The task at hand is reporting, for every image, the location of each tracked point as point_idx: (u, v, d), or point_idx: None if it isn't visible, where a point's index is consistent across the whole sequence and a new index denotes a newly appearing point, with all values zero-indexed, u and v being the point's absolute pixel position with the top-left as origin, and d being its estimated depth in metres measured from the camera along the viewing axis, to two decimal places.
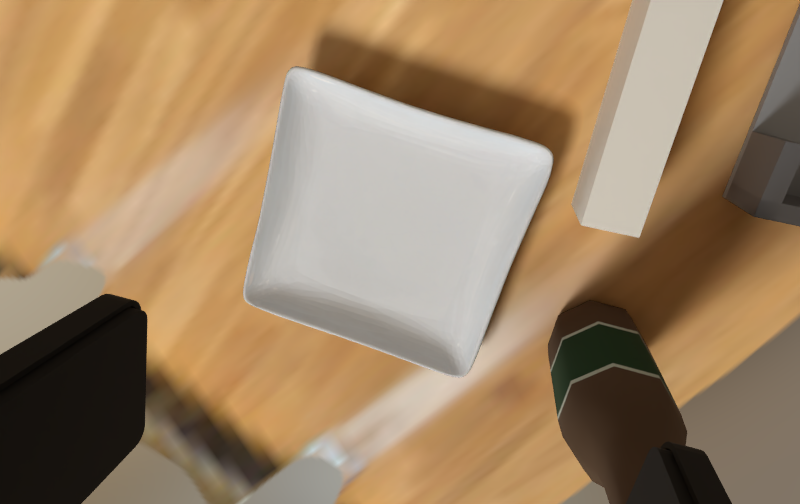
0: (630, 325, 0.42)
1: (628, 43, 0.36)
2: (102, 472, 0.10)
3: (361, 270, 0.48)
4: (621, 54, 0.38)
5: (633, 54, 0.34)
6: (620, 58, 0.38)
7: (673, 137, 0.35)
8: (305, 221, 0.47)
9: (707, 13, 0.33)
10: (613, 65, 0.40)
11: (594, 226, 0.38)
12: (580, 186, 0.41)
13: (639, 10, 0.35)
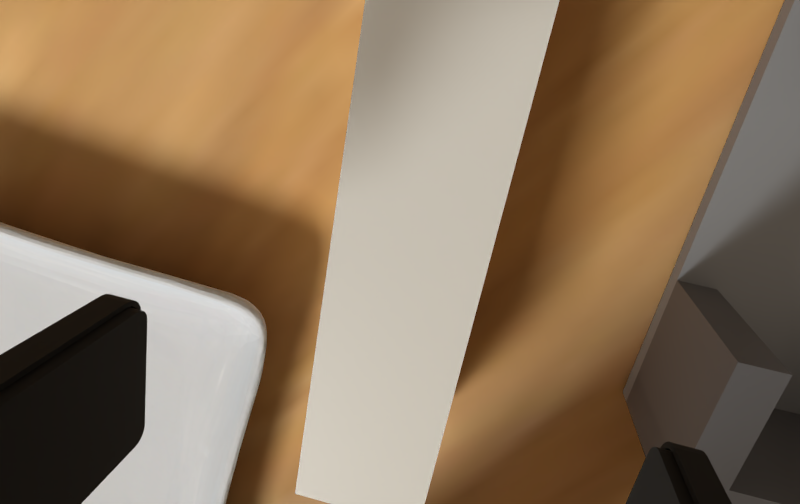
0: None
1: None
2: (102, 472, 0.10)
3: None
4: None
5: None
6: None
7: (466, 337, 0.14)
8: None
9: (519, 37, 0.12)
10: None
11: (322, 498, 0.17)
12: None
13: None
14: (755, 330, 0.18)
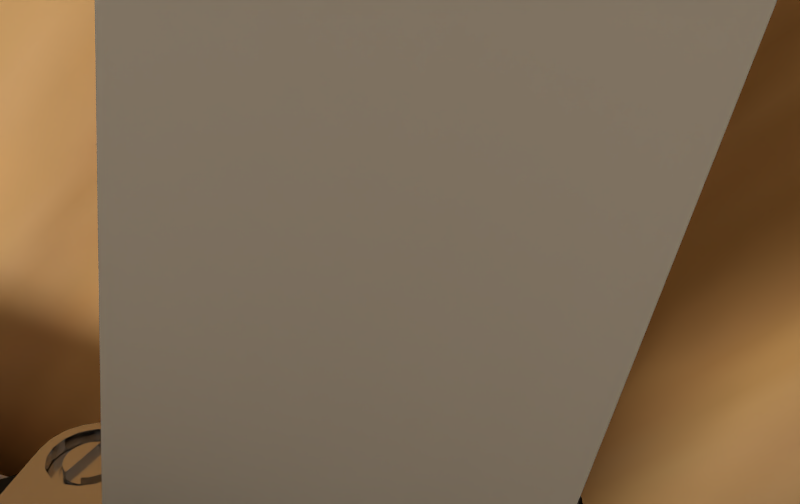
0: None
1: None
2: None
3: None
4: None
5: None
6: None
7: None
8: None
9: (607, 143, 0.03)
10: None
11: None
12: None
13: None
14: None
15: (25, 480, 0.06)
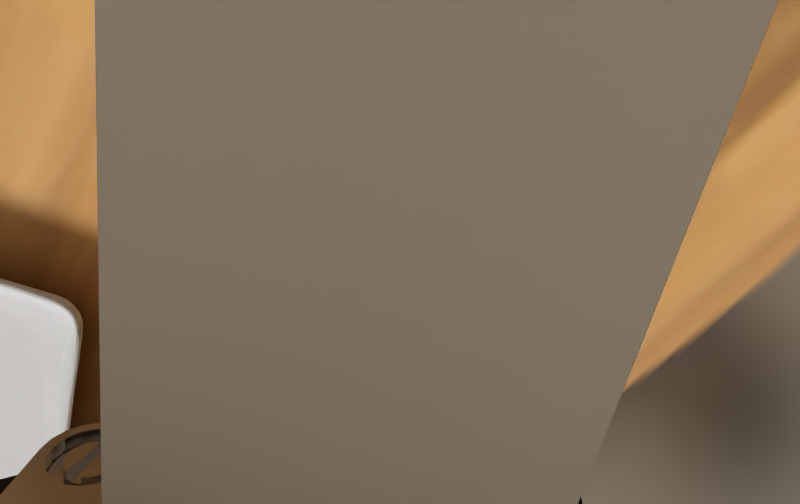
0: None
1: None
2: None
3: None
4: None
5: None
6: None
7: None
8: None
9: (602, 159, 0.03)
10: None
11: None
12: None
13: None
14: None
15: (25, 480, 0.06)
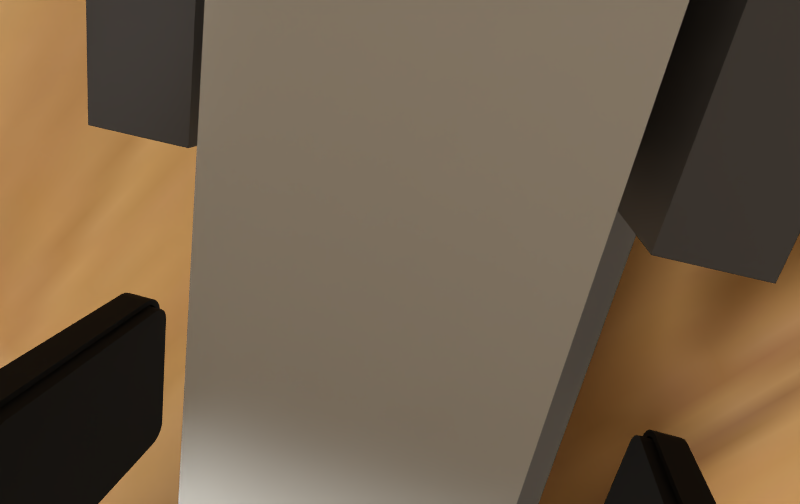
0: None
1: None
2: (122, 468, 0.10)
3: None
4: None
5: None
6: None
7: None
8: None
9: (570, 120, 0.05)
10: None
11: None
12: None
13: None
14: None
15: None
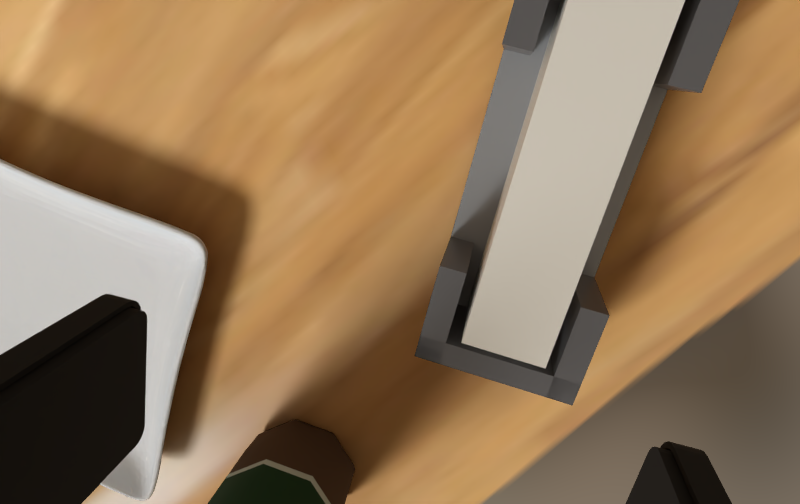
0: (312, 464, 0.33)
1: (539, 79, 0.24)
2: (102, 472, 0.10)
3: None
4: (534, 94, 0.25)
5: (537, 98, 0.22)
6: (532, 100, 0.25)
7: (596, 228, 0.23)
8: None
9: (651, 41, 0.20)
10: None
11: (480, 346, 0.25)
12: (477, 276, 0.29)
13: (555, 30, 0.23)
14: None
15: None
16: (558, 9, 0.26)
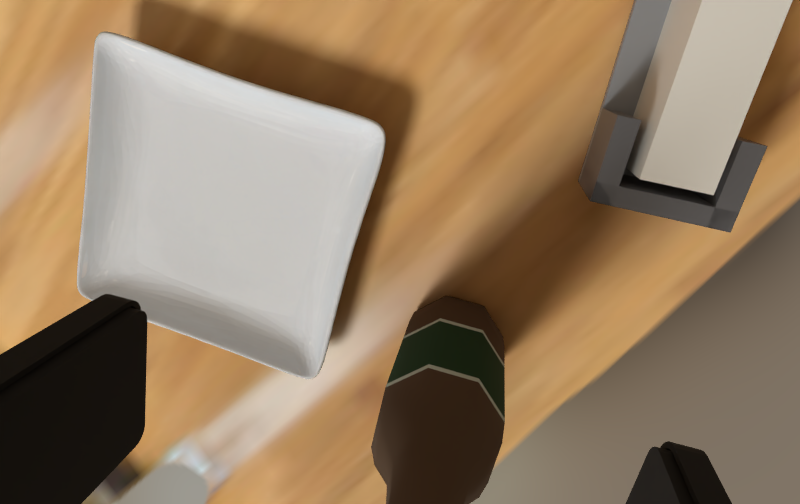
0: (478, 323, 0.38)
1: None
2: (102, 472, 0.10)
3: (204, 261, 0.44)
4: None
5: None
6: None
7: (765, 62, 0.27)
8: (141, 206, 0.43)
9: None
10: None
11: (656, 180, 0.30)
12: None
13: None
14: None
15: None
16: None
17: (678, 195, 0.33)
